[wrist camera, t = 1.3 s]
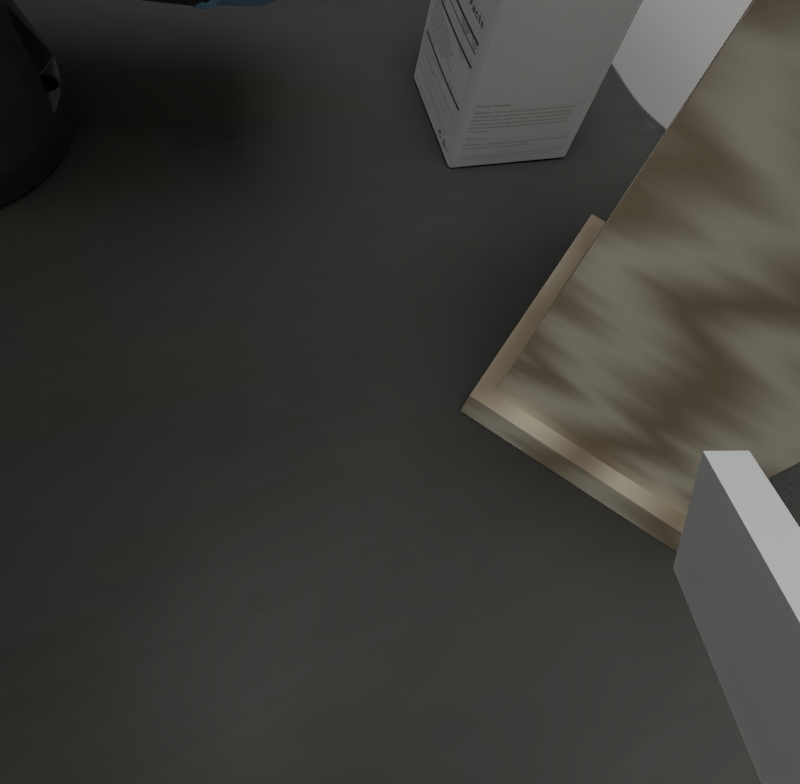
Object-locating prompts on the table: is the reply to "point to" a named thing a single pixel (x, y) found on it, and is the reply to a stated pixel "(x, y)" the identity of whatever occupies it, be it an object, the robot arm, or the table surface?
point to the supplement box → (515, 73)
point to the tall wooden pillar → (675, 302)
